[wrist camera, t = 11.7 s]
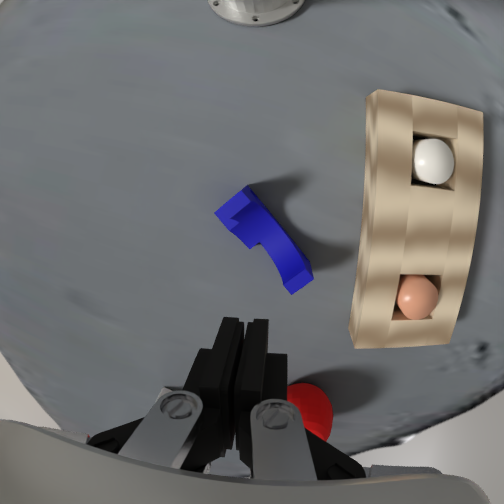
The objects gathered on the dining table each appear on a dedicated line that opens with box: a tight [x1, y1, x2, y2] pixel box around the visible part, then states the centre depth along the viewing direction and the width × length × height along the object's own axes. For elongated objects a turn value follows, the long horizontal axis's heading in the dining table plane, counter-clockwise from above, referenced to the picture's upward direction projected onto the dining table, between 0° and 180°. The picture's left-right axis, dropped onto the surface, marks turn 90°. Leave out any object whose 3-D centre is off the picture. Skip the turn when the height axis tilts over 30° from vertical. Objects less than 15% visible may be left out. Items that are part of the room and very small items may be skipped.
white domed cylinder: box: [411, 139, 454, 184], centre depth 31 cm, size 5×5×5 cm
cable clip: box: [214, 185, 314, 295], centre depth 35 cm, size 12×4×6 cm, turn 40°
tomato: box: [287, 383, 333, 441], centre depth 40 cm, size 10×11×11 cm
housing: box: [348, 89, 483, 349], centre depth 33 cm, size 30×14×5 cm, turn 179°
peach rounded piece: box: [395, 274, 438, 320], centre depth 35 cm, size 5×5×5 cm
